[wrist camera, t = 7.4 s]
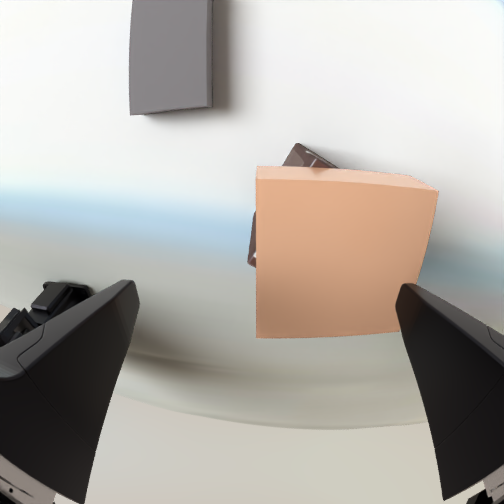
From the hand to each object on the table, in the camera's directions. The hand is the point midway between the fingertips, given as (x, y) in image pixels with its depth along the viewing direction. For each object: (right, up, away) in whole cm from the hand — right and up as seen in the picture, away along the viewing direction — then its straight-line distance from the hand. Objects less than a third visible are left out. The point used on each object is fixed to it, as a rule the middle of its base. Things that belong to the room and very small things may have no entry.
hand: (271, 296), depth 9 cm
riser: (-6, +15, +6) cm, 17 cm away
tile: (+3, +2, +4) cm, 5 cm away
